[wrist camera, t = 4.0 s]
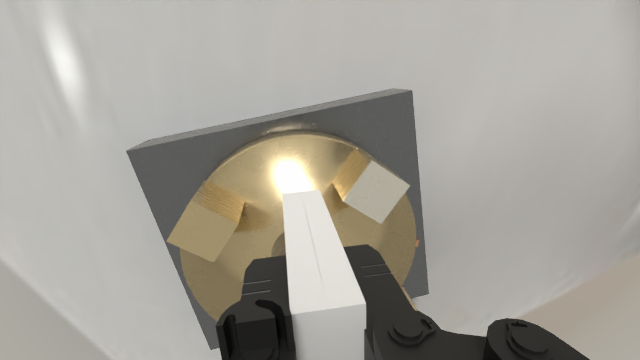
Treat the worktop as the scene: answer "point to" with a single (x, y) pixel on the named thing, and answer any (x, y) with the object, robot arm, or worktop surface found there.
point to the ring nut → (267, 210)
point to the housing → (221, 141)
